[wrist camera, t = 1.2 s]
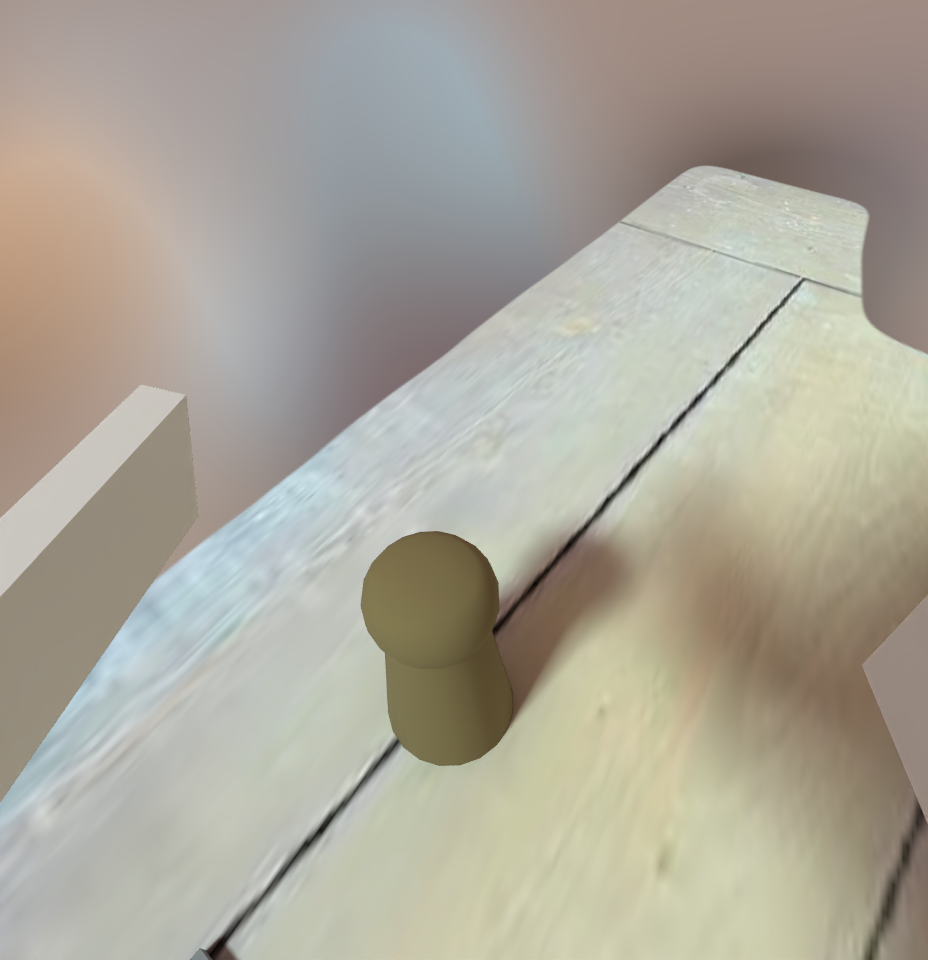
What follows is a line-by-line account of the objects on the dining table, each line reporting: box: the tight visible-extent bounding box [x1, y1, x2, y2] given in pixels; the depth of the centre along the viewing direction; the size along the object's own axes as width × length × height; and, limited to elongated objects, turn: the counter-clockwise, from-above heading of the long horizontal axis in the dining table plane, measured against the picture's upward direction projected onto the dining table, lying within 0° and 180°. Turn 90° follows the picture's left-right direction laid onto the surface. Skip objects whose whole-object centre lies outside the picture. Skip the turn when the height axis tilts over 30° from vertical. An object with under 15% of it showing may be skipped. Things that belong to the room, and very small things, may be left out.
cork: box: [361, 531, 513, 766], centre depth 27 cm, size 6×6×11 cm
